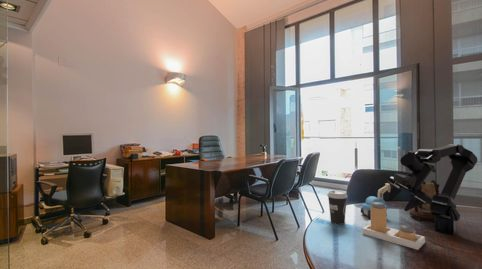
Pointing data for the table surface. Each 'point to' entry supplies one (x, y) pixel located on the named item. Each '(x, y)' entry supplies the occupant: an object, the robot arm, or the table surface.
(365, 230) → the housing
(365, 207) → the toy excavator
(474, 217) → the table surface
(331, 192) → the coffee cup
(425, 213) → the scroll
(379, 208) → the knob-topped wooden post
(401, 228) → the grey and tan piece
